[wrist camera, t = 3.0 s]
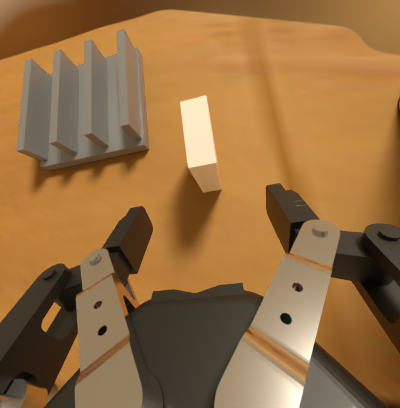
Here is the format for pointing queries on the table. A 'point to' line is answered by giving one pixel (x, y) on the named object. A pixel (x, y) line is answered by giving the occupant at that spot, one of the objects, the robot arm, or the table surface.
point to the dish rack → (84, 107)
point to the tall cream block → (200, 144)
